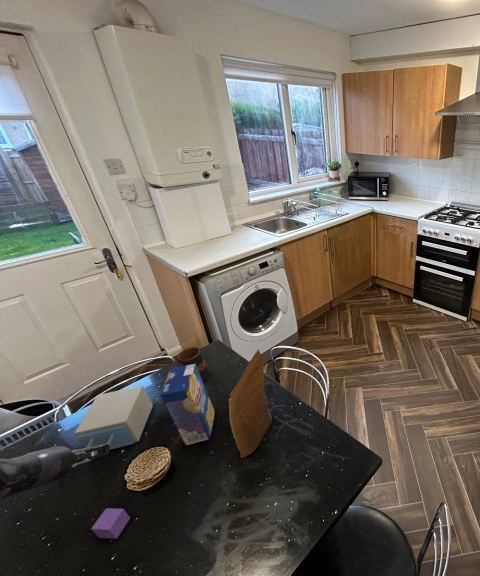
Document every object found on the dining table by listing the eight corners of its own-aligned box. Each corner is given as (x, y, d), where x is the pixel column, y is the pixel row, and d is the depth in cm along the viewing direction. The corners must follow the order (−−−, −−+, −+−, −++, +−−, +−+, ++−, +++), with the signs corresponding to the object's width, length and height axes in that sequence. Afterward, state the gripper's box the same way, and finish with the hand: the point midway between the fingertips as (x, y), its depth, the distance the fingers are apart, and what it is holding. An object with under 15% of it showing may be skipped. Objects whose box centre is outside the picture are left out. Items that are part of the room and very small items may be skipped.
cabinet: (138, 441, 96) (126, 421, 92) (89, 453, 93) (74, 433, 88) (153, 405, 109) (142, 385, 104) (110, 414, 105) (97, 394, 100)
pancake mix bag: (283, 411, 106) (268, 348, 92) (252, 465, 90) (228, 398, 76) (265, 408, 107) (248, 345, 94) (231, 461, 91) (204, 394, 77)
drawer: (128, 458, 91) (116, 441, 87) (80, 470, 88) (67, 453, 84) (147, 409, 106) (139, 393, 102) (108, 418, 103) (97, 401, 99)
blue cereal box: (214, 411, 106) (195, 363, 96) (210, 439, 97) (188, 389, 86) (192, 416, 104) (170, 368, 94) (185, 445, 95) (160, 395, 85)
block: (99, 538, 74) (90, 529, 72) (113, 517, 78) (106, 508, 76) (116, 538, 74) (108, 529, 72) (130, 517, 78) (123, 508, 76)
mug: (172, 387, 116) (160, 364, 110) (198, 366, 125) (189, 343, 120) (189, 393, 113) (178, 370, 107) (215, 371, 123) (206, 348, 117)
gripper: (78, 441, 72) (119, 431, 87) (-1, 459, 68) (56, 445, 83) (78, 476, 70) (119, 460, 85) (-3, 497, 66) (55, 476, 81)
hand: (88, 453), depth 84 cm, fingers open, 8 cm apart
